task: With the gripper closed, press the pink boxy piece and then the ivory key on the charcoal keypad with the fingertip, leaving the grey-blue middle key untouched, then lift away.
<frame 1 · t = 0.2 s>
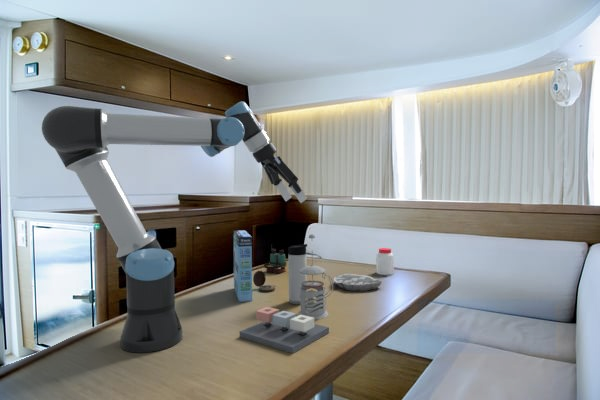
hand: (296, 199, 132), 35 cm above the table, tool tilted 35°, fingers open, 13 cm apart
grey key: (284, 321, 105), point 4 cm above the table, slide at 0.0 cm
pink boxy piece: (267, 317, 109), point 4 cm above the table, slide at 0.0 cm
keyboard base: (284, 334, 105), on the table
compass: (267, 290, 152), on the table
gum box: (242, 294, 146), on the table
brain slice: (354, 287, 155), on the table
travel mug: (298, 302, 135), on the table
pill bottle: (385, 273, 177), on the table
binoculars: (275, 272, 182), on the table
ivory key: (302, 326, 102), point 4 cm above the table, slide at 0.0 cm
french press: (315, 314, 122), on the table
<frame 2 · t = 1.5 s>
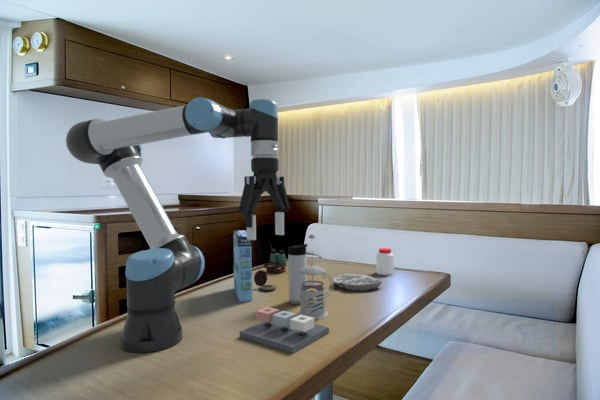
hand: (266, 237, 108), 26 cm above the table, tool pointing down, fingers open, 11 cm apart
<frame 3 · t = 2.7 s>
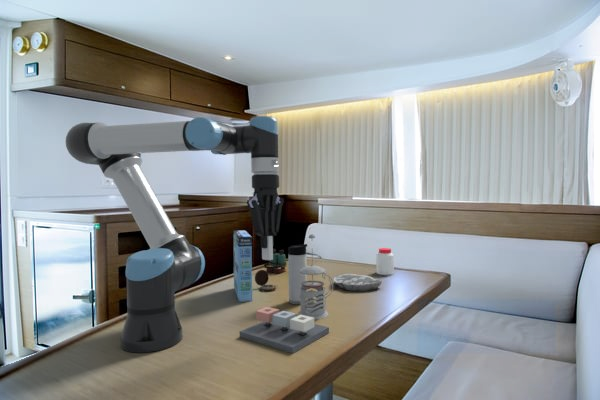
hand: (267, 259, 108), 20 cm above the table, tool pointing down, fingers closed
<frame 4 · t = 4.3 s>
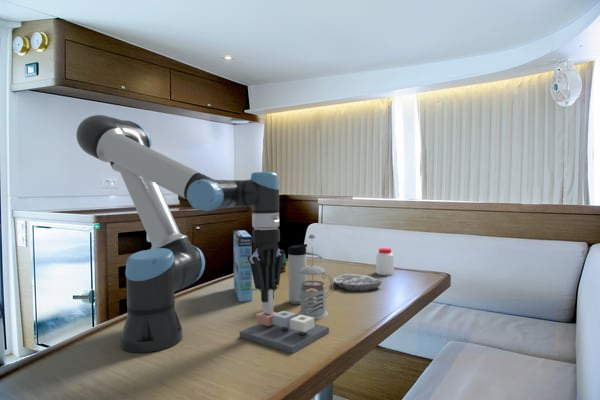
hand: (268, 312, 109), 5 cm above the table, tool pointing down, fingers closed
pink boxy piece: (267, 320, 109), point 3 cm above the table, slide at 1.0 cm, touching gripper
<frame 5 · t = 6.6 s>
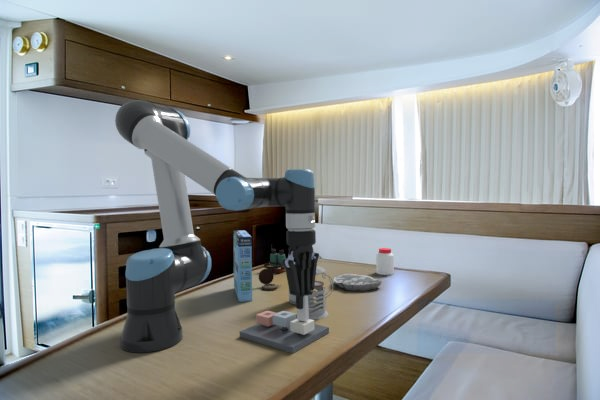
hand: (302, 319, 101), 5 cm above the table, tool pointing down, fingers closed
pink boxy piece: (267, 321, 109), point 3 cm above the table, slide at 1.1 cm
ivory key: (302, 328, 102), point 3 cm above the table, slide at 0.7 cm, touching gripper
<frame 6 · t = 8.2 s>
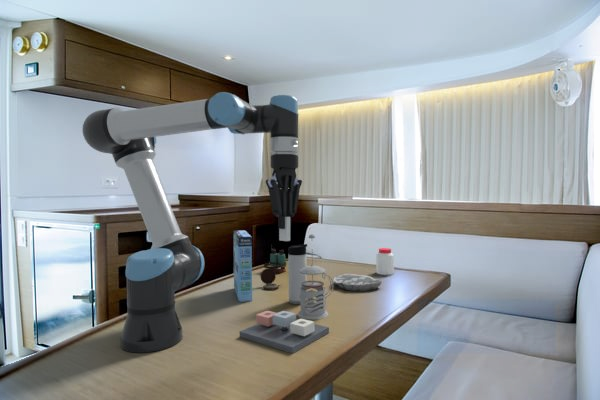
hand: (284, 240, 107), 25 cm above the table, tool pointing down, fingers closed
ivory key: (302, 330, 102), point 3 cm above the table, slide at 1.1 cm
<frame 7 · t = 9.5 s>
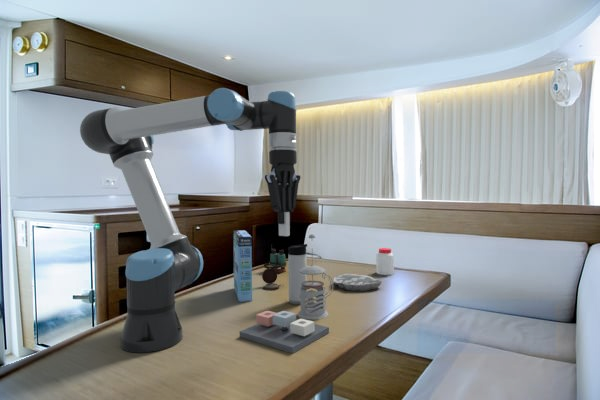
hand: (284, 235, 108), 26 cm above the table, tool pointing down, fingers closed
at the end: pink boxy piece slide at 1.1 cm; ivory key slide at 1.1 cm; grey key slide at 0.0 cm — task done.
